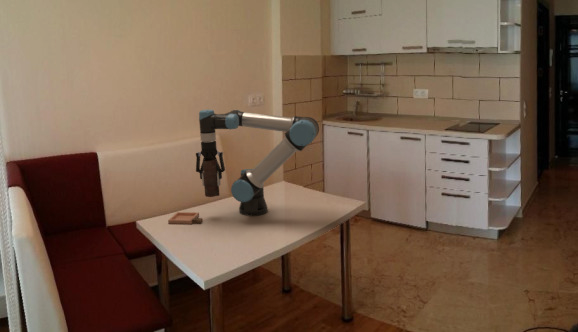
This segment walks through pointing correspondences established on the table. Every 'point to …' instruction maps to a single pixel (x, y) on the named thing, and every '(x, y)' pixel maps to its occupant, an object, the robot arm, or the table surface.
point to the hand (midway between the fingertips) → (211, 185)
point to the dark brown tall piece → (210, 178)
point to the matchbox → (197, 220)
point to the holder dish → (183, 218)
